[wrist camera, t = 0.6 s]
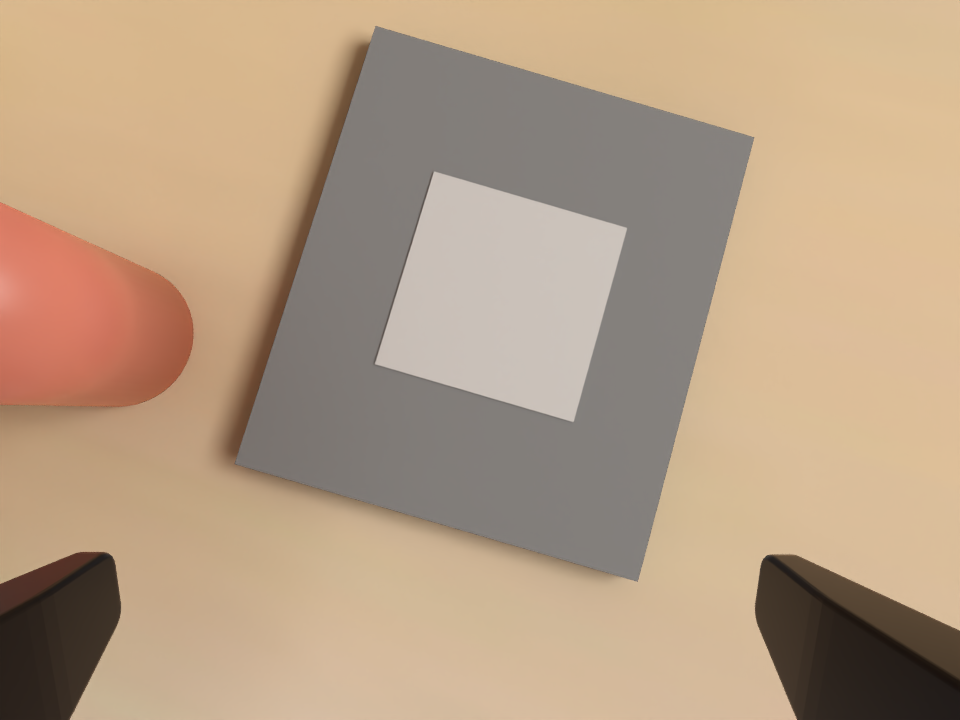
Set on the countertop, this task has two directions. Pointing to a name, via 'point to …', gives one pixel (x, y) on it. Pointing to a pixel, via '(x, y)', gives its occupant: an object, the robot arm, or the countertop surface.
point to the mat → (499, 304)
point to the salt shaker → (83, 321)
